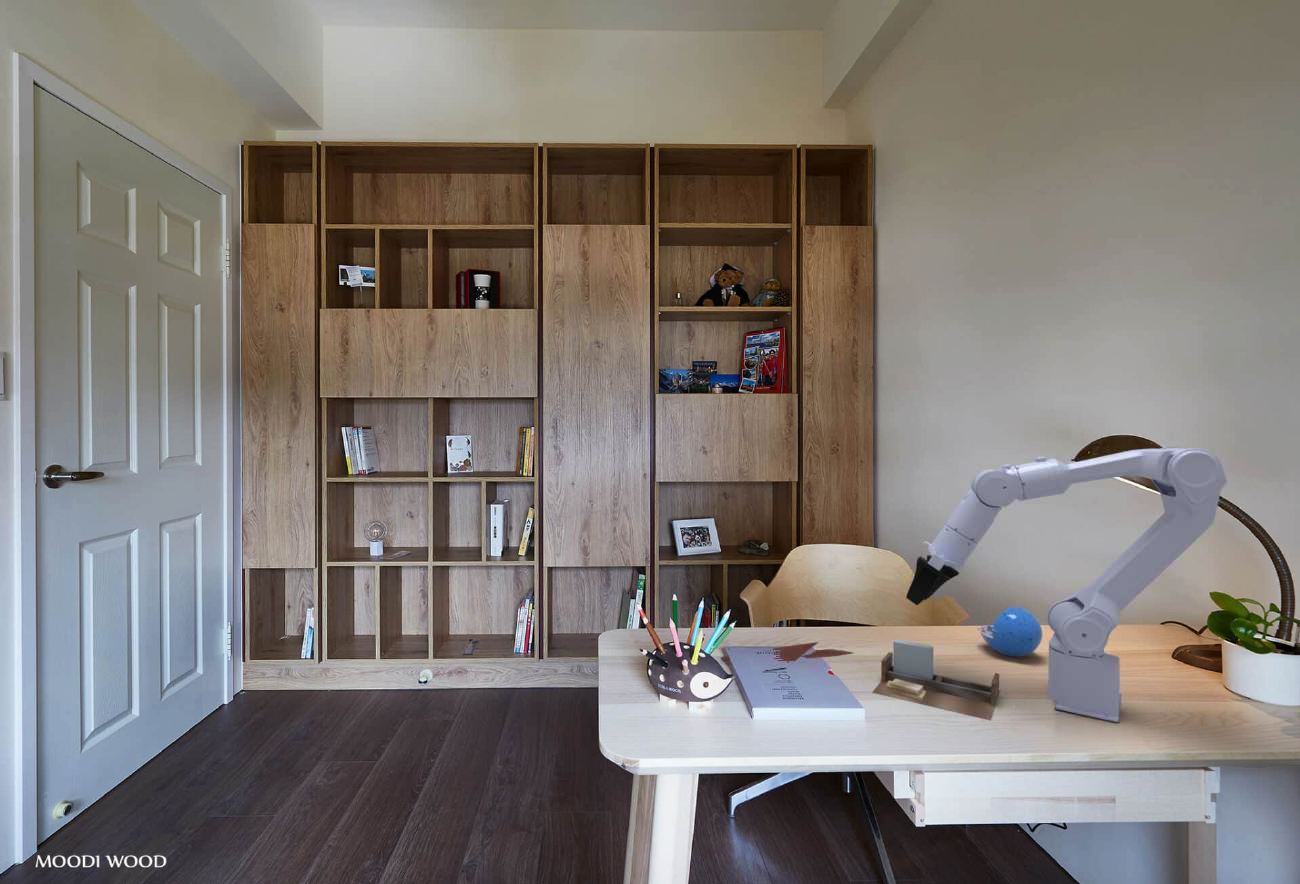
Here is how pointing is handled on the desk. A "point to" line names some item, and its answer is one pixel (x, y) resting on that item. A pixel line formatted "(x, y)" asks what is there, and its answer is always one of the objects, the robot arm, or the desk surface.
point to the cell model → (1013, 632)
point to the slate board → (913, 659)
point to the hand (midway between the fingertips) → (916, 598)
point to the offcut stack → (905, 689)
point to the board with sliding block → (945, 692)
